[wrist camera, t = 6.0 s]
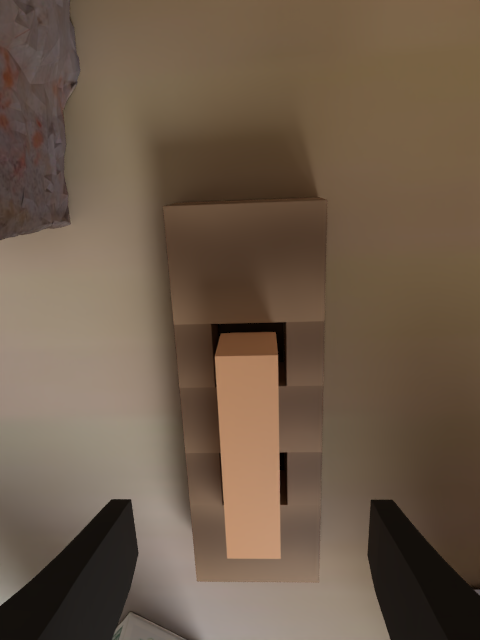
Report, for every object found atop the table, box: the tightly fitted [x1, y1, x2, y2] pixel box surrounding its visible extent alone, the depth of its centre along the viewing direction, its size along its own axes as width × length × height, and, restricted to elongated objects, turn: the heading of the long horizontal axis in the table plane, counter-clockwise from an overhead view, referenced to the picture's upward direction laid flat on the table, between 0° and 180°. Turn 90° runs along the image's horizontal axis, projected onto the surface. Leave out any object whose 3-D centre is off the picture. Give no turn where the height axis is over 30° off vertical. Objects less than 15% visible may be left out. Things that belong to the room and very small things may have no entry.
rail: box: [163, 197, 327, 582], centre depth 20 cm, size 18×6×2 cm, turn 2°
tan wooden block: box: [215, 332, 281, 559], centre depth 19 cm, size 9×2×5 cm, turn 2°
